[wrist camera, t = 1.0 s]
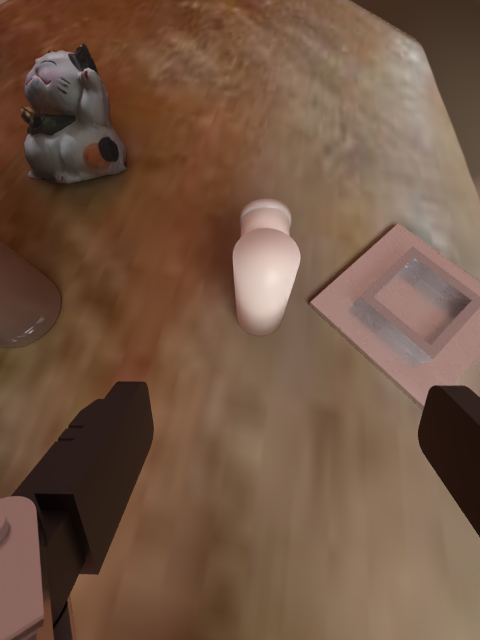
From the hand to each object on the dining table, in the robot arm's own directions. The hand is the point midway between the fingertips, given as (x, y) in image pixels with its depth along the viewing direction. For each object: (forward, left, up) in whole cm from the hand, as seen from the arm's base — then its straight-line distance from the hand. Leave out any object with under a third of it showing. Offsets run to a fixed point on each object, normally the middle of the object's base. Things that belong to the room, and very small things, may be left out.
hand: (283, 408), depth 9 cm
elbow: (-10, +10, -23) cm, 27 cm away
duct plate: (+2, +22, -23) cm, 31 cm away
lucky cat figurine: (-43, +6, -23) cm, 49 cm away
